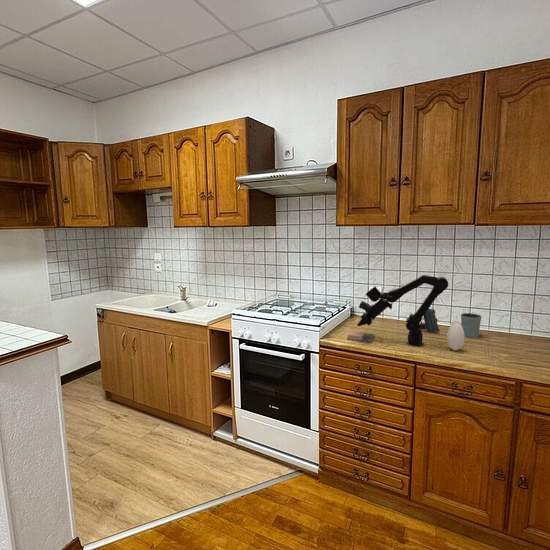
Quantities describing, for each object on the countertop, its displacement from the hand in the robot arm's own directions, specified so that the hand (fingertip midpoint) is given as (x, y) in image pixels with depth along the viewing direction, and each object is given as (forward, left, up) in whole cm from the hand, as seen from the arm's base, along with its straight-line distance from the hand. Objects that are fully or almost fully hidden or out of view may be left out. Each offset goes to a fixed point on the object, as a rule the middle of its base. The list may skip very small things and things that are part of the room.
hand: (357, 325), depth 196 cm
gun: (-16, -41, -7) cm, 45 cm away
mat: (-2, -1, -7) cm, 7 cm away
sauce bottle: (-43, -24, -7) cm, 50 cm away
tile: (-3, -2, -5) cm, 6 cm away
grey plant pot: (-36, -53, -7) cm, 64 cm away
